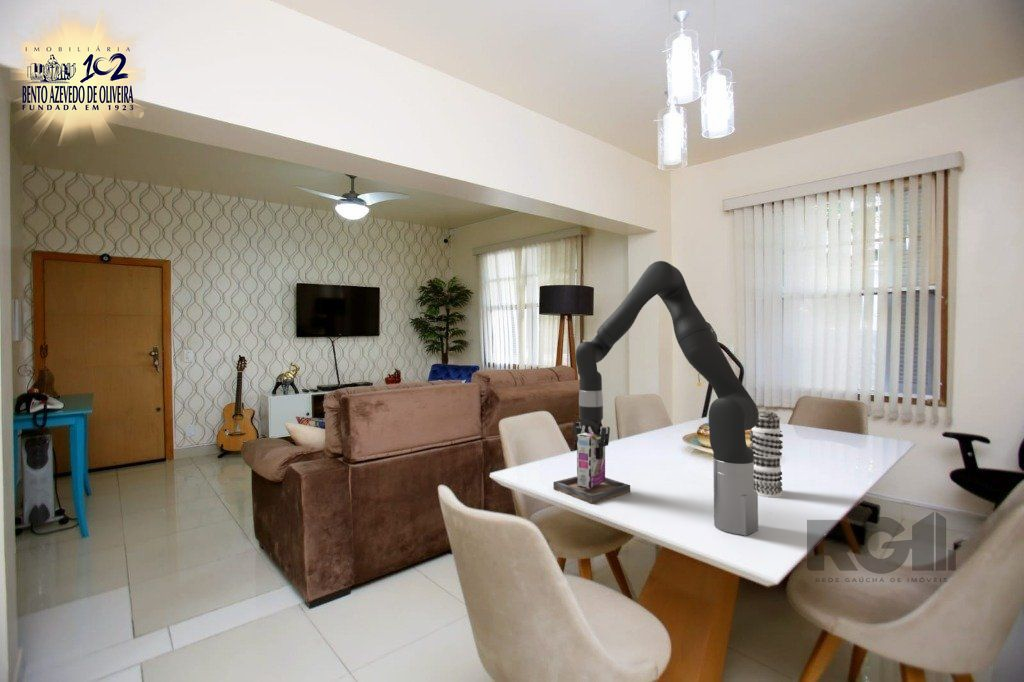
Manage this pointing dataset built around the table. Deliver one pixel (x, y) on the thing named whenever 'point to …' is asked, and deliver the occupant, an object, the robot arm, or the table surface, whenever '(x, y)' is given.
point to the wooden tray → (596, 493)
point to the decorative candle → (767, 454)
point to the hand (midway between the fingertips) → (591, 457)
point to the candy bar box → (589, 462)
